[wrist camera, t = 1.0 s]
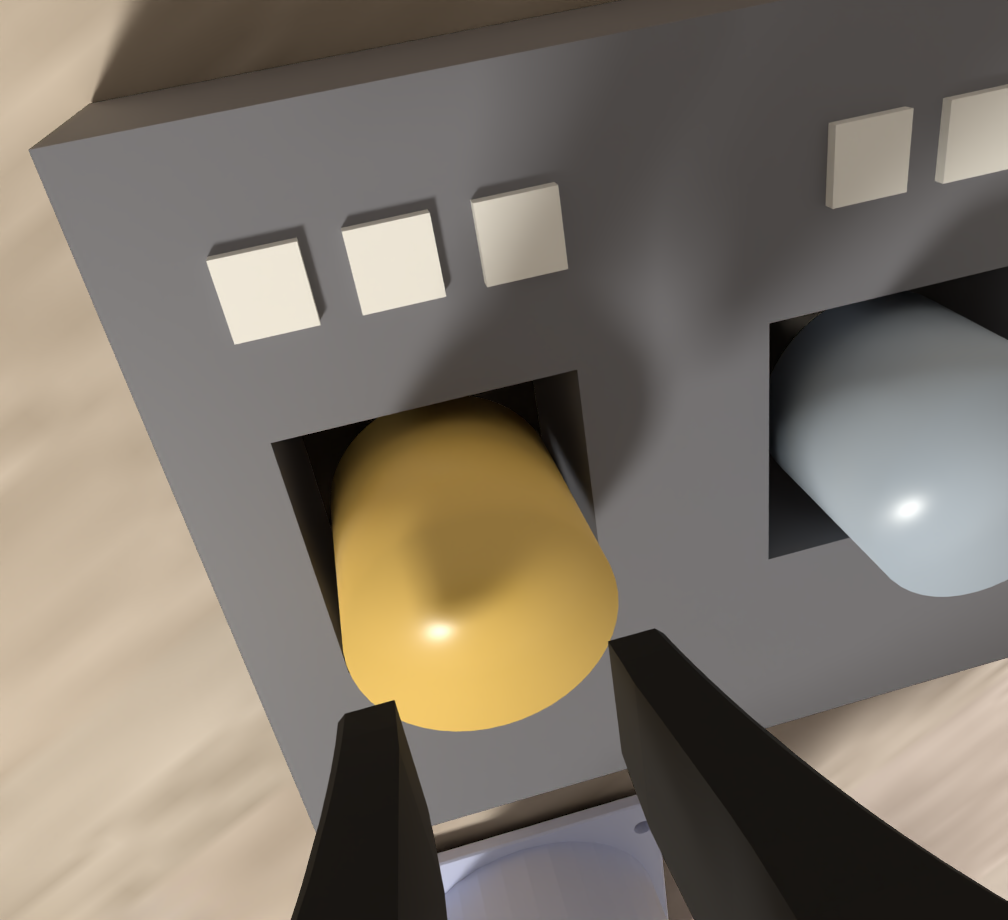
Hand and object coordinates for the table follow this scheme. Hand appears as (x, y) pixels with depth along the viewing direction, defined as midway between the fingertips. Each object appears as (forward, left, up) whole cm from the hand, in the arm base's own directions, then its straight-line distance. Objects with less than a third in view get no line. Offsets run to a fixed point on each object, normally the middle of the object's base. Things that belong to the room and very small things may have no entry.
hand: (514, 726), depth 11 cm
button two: (0, -8, -6) cm, 10 cm away
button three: (0, 0, -5) cm, 5 cm away
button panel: (0, -8, -8) cm, 12 cm away
